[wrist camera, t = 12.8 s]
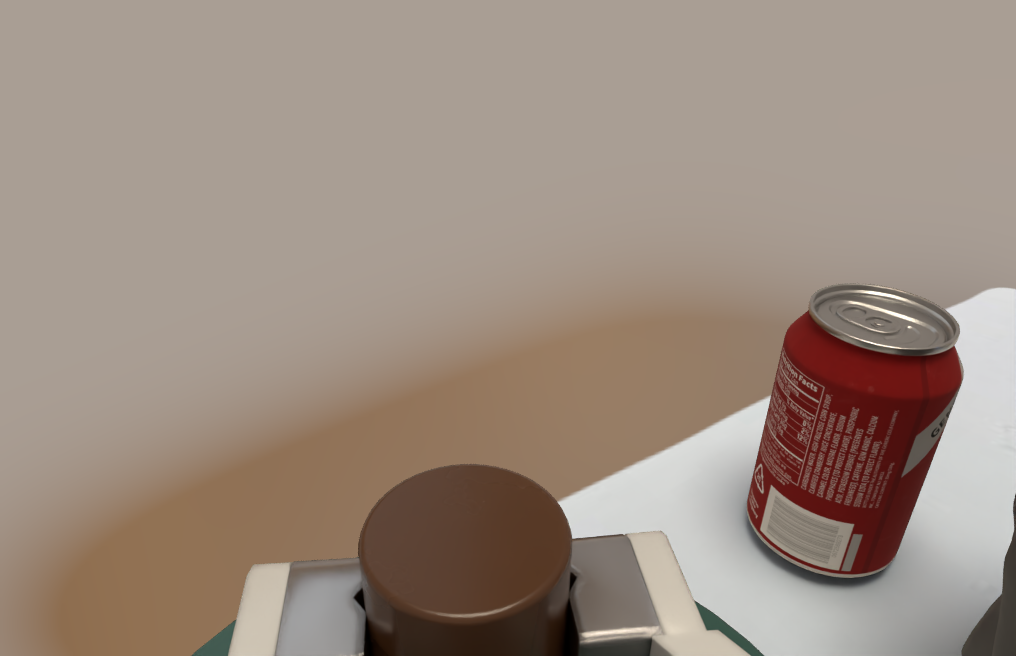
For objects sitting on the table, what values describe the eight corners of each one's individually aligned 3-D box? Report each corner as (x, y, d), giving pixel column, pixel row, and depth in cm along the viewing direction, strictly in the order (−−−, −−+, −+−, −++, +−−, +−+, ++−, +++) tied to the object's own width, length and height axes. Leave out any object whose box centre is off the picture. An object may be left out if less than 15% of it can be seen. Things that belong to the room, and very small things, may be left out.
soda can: (839, 614, 31) (921, 378, 25) (714, 520, 36) (759, 303, 30) (922, 545, 35) (1011, 323, 29) (798, 468, 39) (853, 264, 33)
